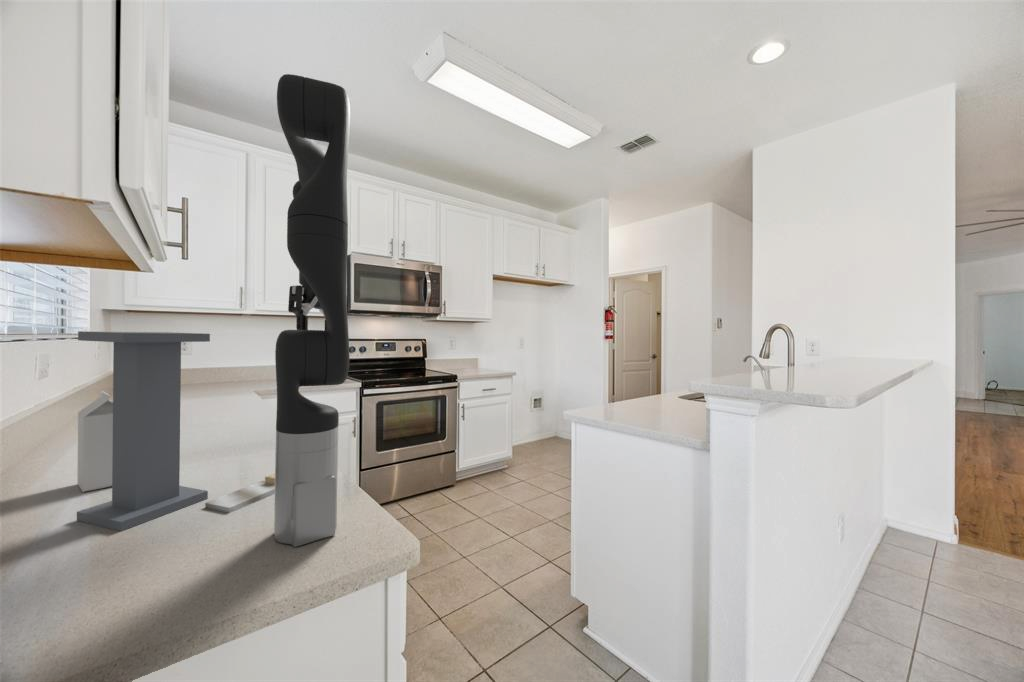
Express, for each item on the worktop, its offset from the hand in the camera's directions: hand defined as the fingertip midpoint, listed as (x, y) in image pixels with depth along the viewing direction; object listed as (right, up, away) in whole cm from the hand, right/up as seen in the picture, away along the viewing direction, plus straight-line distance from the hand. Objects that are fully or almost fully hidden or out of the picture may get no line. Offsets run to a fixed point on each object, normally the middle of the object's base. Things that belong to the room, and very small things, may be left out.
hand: (316, 333), depth 97 cm
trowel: (-5, -32, -12) cm, 35 cm away
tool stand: (-20, -32, -22) cm, 44 cm away
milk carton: (-39, -32, -11) cm, 51 cm away
